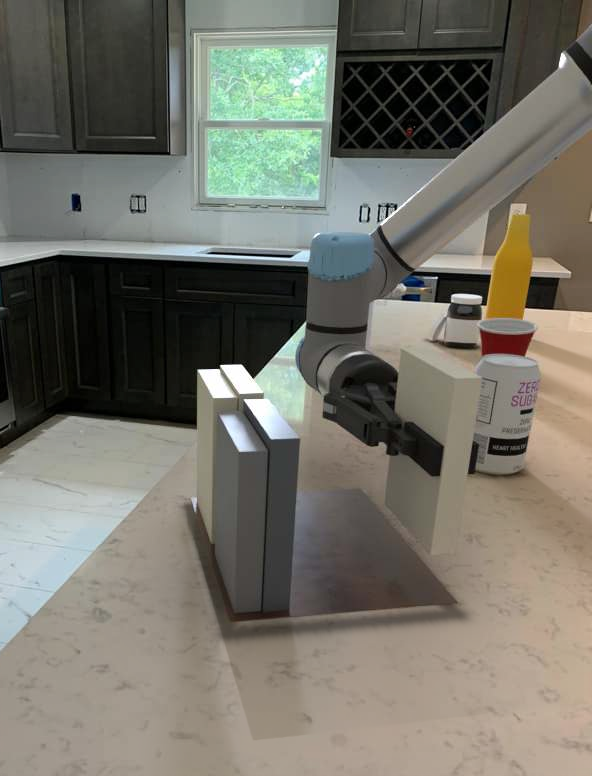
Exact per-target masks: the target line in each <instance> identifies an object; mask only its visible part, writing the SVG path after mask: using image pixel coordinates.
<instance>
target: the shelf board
mask: <svg viewBox="0 0 592 776" xmlns="http://www.w3.org/2000/svg"><path fill="white" fill-rule="evenodd" d="M189 499H190V503H191V506H192V509H193V512H194V515H195V518H196V521H197V525H198V529H199V532H200V535H201V537H202V540H203V545H204V547H205V550H206V553H207V556H208V559H209V562H210V566H211V569H212V572H213V575H214V579H215V581H216V584H217V587H218V588H217V589H218V591H219V594H220V597H221V600H222V604H223V607H224V610H225V613H226V616H227V619H228V622H229V623H240V622H252V621H263V620H264V621H265V620H276V619H277V620H278V619H286V618H297V617H308V616H309V617H311V616H322V615H334V614H335V615H336V614H344V613H345V614H347V613H357V612H367V611H369V612H370V611H379V610H381V611H382V610H391V609H392V610H393V609H404V608H416V607H428V606H439V605H451V604H458V602H459V601H457V599H456V598H455V597H454V596H453V595H452V594H451V593H450V591H449V590H448V589H447V588H446V587H445V585H444V584H443V583H442V582H441V581H440V580H439V578H438V577H437V576H436V575H435V574H434V572H432V570H431V569H430V567H428V565H426V563H425V562H424V561H423V560H422V559H421V557H419V555H418V553H416V552H415V551H414V550H413V547H411V546H410V545H409V544H408V543H407V541H406V540H405V539H404V538H403V536H401V534H400V533H399V532H398V531H397V529H396V528H395V527H394V526H393V525H392V523H390V521H389V520H388V519H387V518H386V517H385V516H384V515H383V513H382V512H381V511H380V510H379V509H378V507H377V506H376V505H375V504H374V503H373V501H372V500H370V498H369V497H368V496H367V495H366V494H365V492H364V491H363V490H362V488H343V489H326V490H324V489H323V490H309V491H297V497H296V513H295V529H294V545H293V561H292V577H291V593H290V609H289V610H285V611H273V612H263V611H262V609H261V611H257V612H245V613H234V611H233V608H232V605H231V602H230V599H229V596H228V593H227V590H226V587H225V584H224V581H223V578H222V575H221V572H220V569H219V566H218V563H217V560H216V557H215V544H211V542H210V539H209V536H208V533H207V530H206V527H205V524H204V521H203V518H202V515H201V512H200V509H199V506H198V503H197V496H196V497H189Z"/></svg>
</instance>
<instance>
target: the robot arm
mask: <svg viewBox="0 0 592 776" xmlns="http://www.w3.org/2000/svg"><path fill="white" fill-rule="evenodd" d="M591 130H592V23H590V25H589V26H588V27H587V28H586V29H585V30H584V31H583V32H582V34H581V35H580V36H579V37H577V39H575V41H573V42H572V43H571V44H570V45H569V46H568V47H567V48H565V49H564V50H563V51H562V52H561V54H560V59H559V63H558V67H557V69H556V70H555V71H553V72H552V74H550V75H549V76H548V77H547V78H545V80H543V81H542V82H541V83H540V84H538V85H537V86H536V87H535V88H534V89H533V90H532V91H531V92H529V94H528V95H526V96H525V97H524V98H523V99H522V100H520V101H519V102H518V103H517V104H516V105H515V106H513V108H511V109H510V110H509V111H508V112H507V113H506V114H505V115H503V116H502V117H501V118H500V119H498V120H497V121H496V123H494V124H493V125H492V126H491V127H490V128H489V129H487V130H486V131H485V132H484V133H483V134H482V135H480V137H478V138H477V139H475V141H474V142H472V143H471V145H469V146H468V147H467V148H465V149H464V150H463V151H462V152H461V153H460V154H458V156H457V157H455V158H453V160H452V161H451V162H449V164H447V166H445V167H444V168H443V169H441V171H439V173H437V174H436V175H435V176H433V178H431V179H430V180H429V181H428V182H427V183H425V184H424V185H423V186H422V187H421V188H420V189H419V190H418V191H417V192H415V193H414V194H413V195H412V196H411V197H409V198H408V199H407V200H406V201H405V202H404V203H403V204H402V205H400V207H398V208H397V209H396V210H395V211H393V212H392V213H391V214H390V215H389V216H388V217H387V218H385V219H384V220H383V221H382V222H380V225H378V226H377V227H376V228H374V229H372V230H371V232H369V233H368V234H367V233H364V232H363V233H362V232H349V231H329V232H326V231H324V232H323V231H322V232H319V233H317V234H315V235H314V236H313V237H312V239H311V242H310V251H309V259H308V261H307V270H308V274H307V275H308V277H307V295H306V299H307V300H306V318H305V327H304V335H303V336H302V338H301V339H300V341H299V343H298V344H297V347H296V350H295V357H294V358H295V365H296V369H297V370H298V372H299V374H300V376H301V377H302V378H303V381H305V384H307V385H308V386H309V387H310V388H311V389H313V390H315V391H316V392H317V393H319V394H320V395H321V397H323V401H322V402H323V403H322V416H321V417H322V419H324V420H327V421H329V422H330V421H331V422H333V423H336V424H337V425H338V426H340V428H342V429H344V430H345V431H346V432H347V433H349V434H350V435H352V436H353V437H355V438H356V439H357V440H359V441H360V442H361V443H363V444H364V445H366V446H368V447H370V448H374V447H379V444H380V443H384V445H385V446H386V449H385V455H387V456H397V455H399V452H400V453H401V454H403V455H406V456H409V457H410V458H411V459H412V460H413V461H414V462H416V463H417V464H418V465H419V466H420V467H421V468H422V469H423V470H425V471H426V472H427V473H428V474H429V475H430V476H431V477H435V476H440V472H441V465H442V457H443V450H444V446H443V445H442V444H441V443H439V442H438V441H437V440H435V439H434V438H433V437H432V436H430V435H429V434H428V433H426V432H425V431H424V430H422V429H421V428H420V427H419V426H417V425H416V424H415V423H413V422H404V428H403V427H402V421H401V420H400V418H399V417H398V416H397V415H396V414H395V413H394V410H395V401H396V392H397V383H398V373H399V371H398V370H397V369H396V368H395V367H394V366H393V365H391V363H388V362H387V361H385V360H384V359H382V358H381V357H380V356H378V355H376V354H375V353H373V352H371V351H370V350H369V351H368V350H366V349H365V346H366V335H367V326H368V314H369V304H370V303H371V302H373V301H374V302H375V301H377V300H380V299H384V298H385V297H386V296H388V295H390V294H391V293H392V292H393V291H395V289H397V287H398V285H399V284H400V283H402V282H403V281H404V280H405V279H407V278H408V277H409V276H410V275H412V273H414V271H416V270H417V269H419V267H421V266H422V265H423V264H424V263H426V262H427V261H429V259H431V258H432V257H433V256H434V255H436V254H437V253H438V252H440V251H441V250H442V249H443V248H444V247H446V246H447V245H448V244H449V243H451V242H452V241H453V240H455V239H456V238H457V237H458V236H459V235H460V234H462V233H463V232H465V231H466V230H467V229H469V227H471V226H472V225H473V224H475V223H476V222H477V221H478V220H479V219H481V218H482V217H483V216H484V215H486V214H487V213H488V212H490V211H491V210H492V209H493V208H494V207H496V206H497V205H498V204H499V203H501V202H502V201H504V199H506V198H507V197H509V195H511V194H512V193H513V192H515V191H516V190H517V189H518V188H519V187H520V186H522V185H523V184H524V183H526V182H527V181H528V180H529V179H531V178H532V177H533V176H534V175H536V174H537V173H539V172H540V171H541V170H542V169H543V168H544V167H545V166H547V165H548V164H549V163H551V162H552V161H553V160H554V159H556V158H557V157H558V156H559V155H561V154H562V153H563V152H565V151H566V150H567V149H568V148H570V147H571V146H572V145H574V143H576V142H577V141H578V140H579V139H581V138H582V137H583V136H585V134H587V133H589V131H591ZM478 449H479V444H478V443H477V442H475V441H474V440H473V442H472V448H471V455H470V461H469V468H468V474H467V476H469V475H475V474H476V470H475V468H476V461H477V455H478Z"/></svg>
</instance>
